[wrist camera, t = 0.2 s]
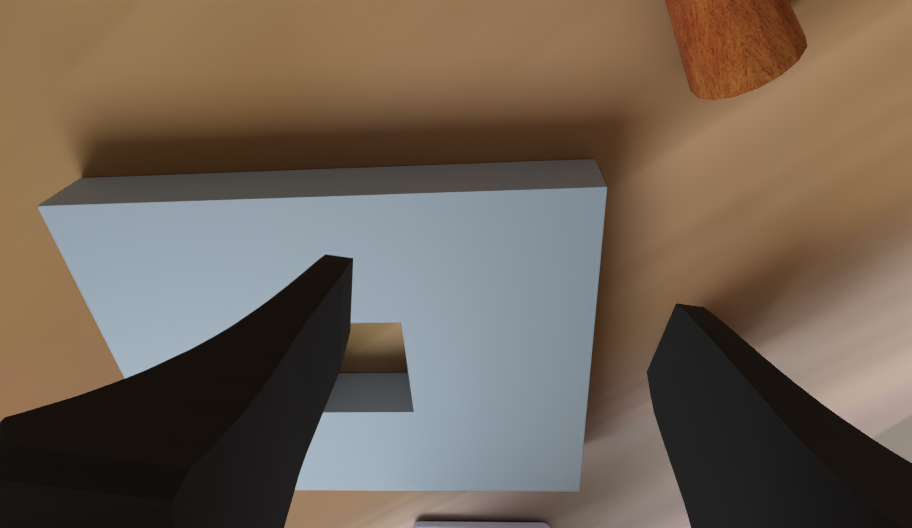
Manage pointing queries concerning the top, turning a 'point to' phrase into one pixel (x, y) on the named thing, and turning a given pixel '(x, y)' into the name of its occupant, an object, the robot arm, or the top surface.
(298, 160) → the top surface
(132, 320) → the socket board
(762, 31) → the kendama
